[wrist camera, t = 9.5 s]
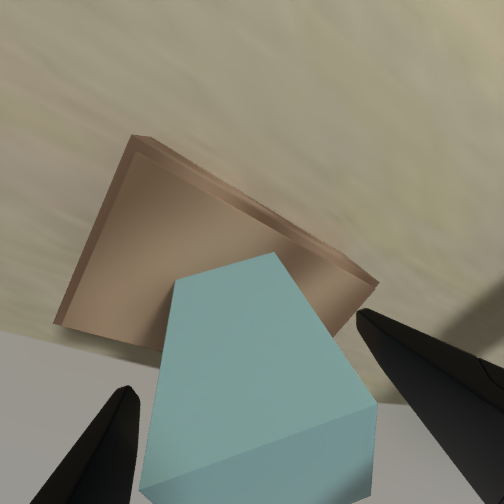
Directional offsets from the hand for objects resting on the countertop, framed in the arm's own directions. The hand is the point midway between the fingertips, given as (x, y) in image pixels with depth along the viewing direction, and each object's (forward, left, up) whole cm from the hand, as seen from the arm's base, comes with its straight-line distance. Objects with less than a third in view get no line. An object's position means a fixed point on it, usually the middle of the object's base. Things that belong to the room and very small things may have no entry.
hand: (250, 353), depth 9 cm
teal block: (0, 0, -3) cm, 3 cm away
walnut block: (0, 0, -7) cm, 7 cm away
